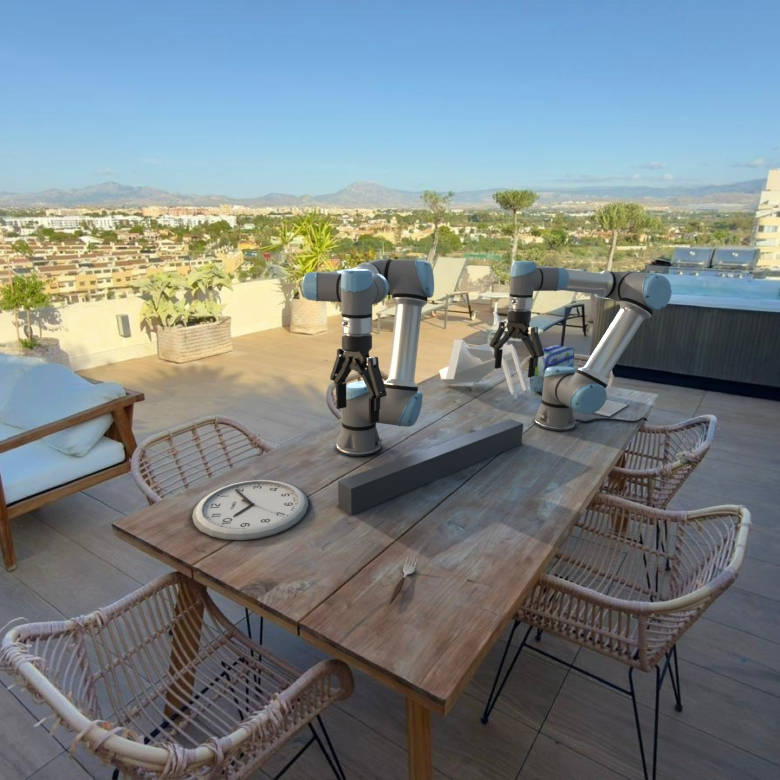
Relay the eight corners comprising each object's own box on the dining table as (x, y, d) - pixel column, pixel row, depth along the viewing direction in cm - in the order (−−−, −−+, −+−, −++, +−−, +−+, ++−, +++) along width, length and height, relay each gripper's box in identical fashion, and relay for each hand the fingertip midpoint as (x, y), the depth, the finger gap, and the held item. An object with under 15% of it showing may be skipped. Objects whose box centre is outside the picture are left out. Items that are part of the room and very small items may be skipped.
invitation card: (608, 416, 214) (573, 407, 224) (608, 416, 214) (573, 408, 224) (628, 404, 229) (594, 396, 238) (628, 405, 229) (594, 397, 238)
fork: (383, 605, 105) (383, 597, 105) (407, 560, 120) (408, 552, 119) (395, 608, 104) (395, 600, 104) (418, 562, 119) (419, 555, 118)
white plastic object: (461, 429, 252) (437, 405, 227) (444, 352, 274) (420, 323, 250) (535, 404, 240) (518, 377, 215) (510, 326, 262) (492, 293, 237)
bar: (508, 438, 190) (509, 418, 188) (521, 443, 186) (523, 423, 184) (338, 506, 142) (338, 480, 140) (351, 515, 138) (351, 488, 136)
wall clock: (304, 532, 127) (176, 536, 124) (304, 538, 127) (177, 542, 125) (311, 475, 155) (207, 478, 153) (311, 480, 156) (208, 483, 153)
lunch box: (546, 398, 236) (551, 353, 229) (525, 393, 243) (529, 349, 237) (573, 387, 253) (579, 344, 247) (553, 382, 260) (558, 341, 254)
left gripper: (315, 327, 135) (317, 405, 141) (377, 344, 117) (376, 432, 124) (339, 324, 140) (340, 399, 146) (402, 340, 122) (400, 425, 128)
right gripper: (482, 306, 178) (478, 366, 184) (546, 315, 160) (539, 382, 166) (496, 304, 182) (491, 363, 189) (559, 313, 165) (552, 378, 171)
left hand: (357, 414), depth 135 cm, fingers open, 13 cm apart
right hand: (514, 372), depth 177 cm, fingers open, 13 cm apart
